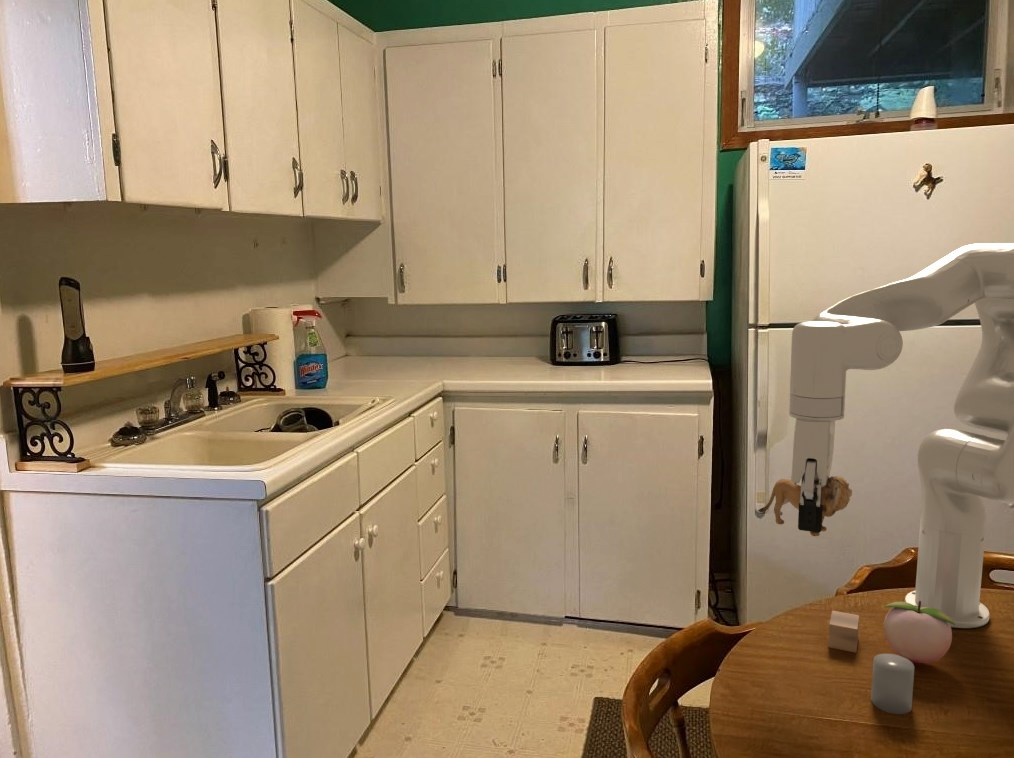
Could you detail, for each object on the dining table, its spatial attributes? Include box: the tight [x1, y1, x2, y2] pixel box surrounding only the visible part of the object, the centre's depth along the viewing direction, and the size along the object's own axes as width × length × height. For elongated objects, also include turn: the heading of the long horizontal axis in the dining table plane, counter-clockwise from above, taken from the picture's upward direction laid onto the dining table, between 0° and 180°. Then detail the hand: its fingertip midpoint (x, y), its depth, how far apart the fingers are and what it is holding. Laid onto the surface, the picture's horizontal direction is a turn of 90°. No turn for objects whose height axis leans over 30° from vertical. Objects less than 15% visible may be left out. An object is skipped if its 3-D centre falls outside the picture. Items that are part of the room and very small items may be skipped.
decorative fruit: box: [882, 601, 955, 664], centre depth 115 cm, size 9×8×10 cm
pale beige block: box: [828, 610, 860, 653], centre depth 123 cm, size 5×4×4 cm
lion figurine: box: [757, 475, 853, 537], centre depth 117 cm, size 15×5×9 cm, turn 40°
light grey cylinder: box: [870, 653, 915, 715], centre depth 106 cm, size 5×5×6 cm
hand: (812, 521), depth 116 cm, fingers closed on lion figurine, 6 cm apart
